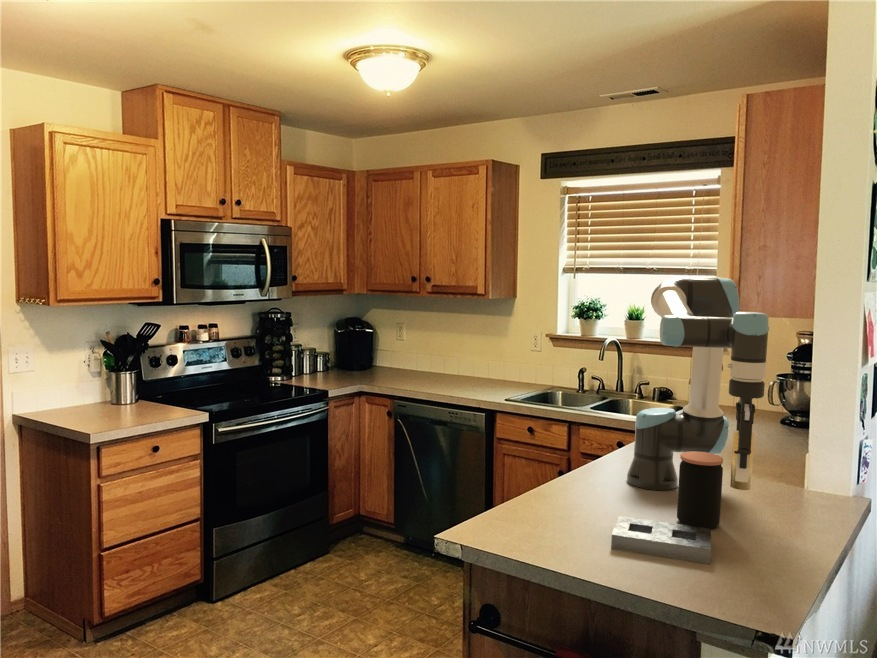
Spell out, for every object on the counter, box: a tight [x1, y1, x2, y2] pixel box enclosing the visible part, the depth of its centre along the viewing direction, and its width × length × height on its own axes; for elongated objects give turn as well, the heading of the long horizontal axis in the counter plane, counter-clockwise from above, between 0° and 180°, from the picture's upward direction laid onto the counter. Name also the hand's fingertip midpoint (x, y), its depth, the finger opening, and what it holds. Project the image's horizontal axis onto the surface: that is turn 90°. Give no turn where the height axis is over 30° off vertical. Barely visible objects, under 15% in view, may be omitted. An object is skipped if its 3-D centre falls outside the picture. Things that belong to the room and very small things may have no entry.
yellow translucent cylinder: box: [729, 429, 755, 491], centre depth 167 cm, size 4×4×13 cm
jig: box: [610, 515, 712, 565], centre depth 173 cm, size 14×22×4 cm, turn 69°
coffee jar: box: [676, 451, 724, 530], centre depth 188 cm, size 11×11×18 cm
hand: (740, 478), depth 167 cm, fingers closed on yellow translucent cylinder, 4 cm apart
